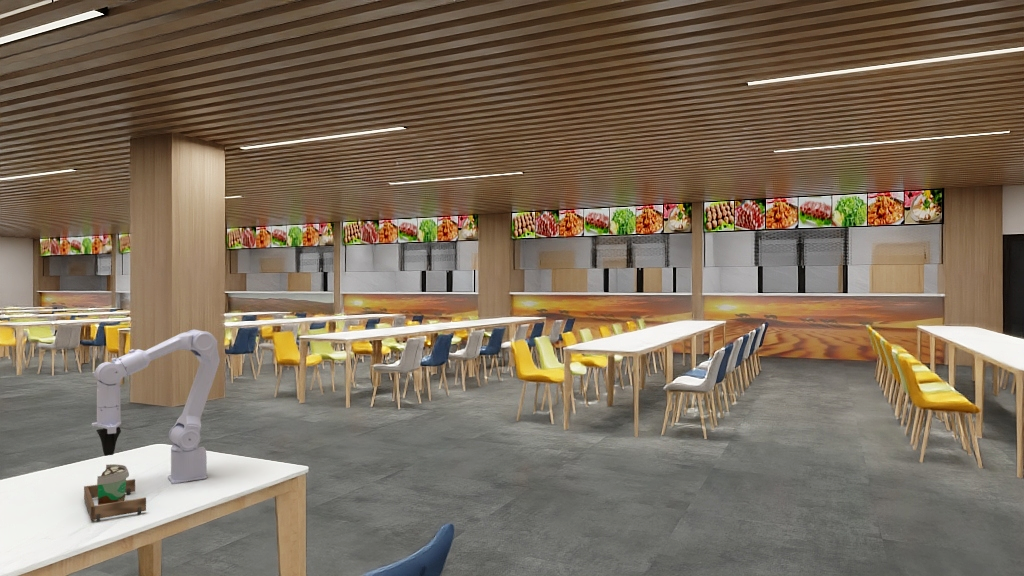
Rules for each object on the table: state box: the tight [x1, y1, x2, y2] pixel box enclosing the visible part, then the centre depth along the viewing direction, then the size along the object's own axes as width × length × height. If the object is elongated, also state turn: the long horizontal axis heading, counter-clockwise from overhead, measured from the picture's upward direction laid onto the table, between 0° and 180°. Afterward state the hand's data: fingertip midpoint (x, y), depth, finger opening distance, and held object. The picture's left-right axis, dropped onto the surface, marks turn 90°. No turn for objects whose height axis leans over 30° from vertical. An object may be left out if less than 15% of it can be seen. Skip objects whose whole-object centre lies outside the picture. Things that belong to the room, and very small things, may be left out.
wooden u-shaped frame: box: [83, 478, 147, 522], centre depth 183 cm, size 12×21×4 cm, turn 36°
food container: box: [96, 463, 130, 505], centre depth 182 cm, size 12×6×10 cm, turn 20°
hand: (108, 454), depth 195 cm, fingers closed
